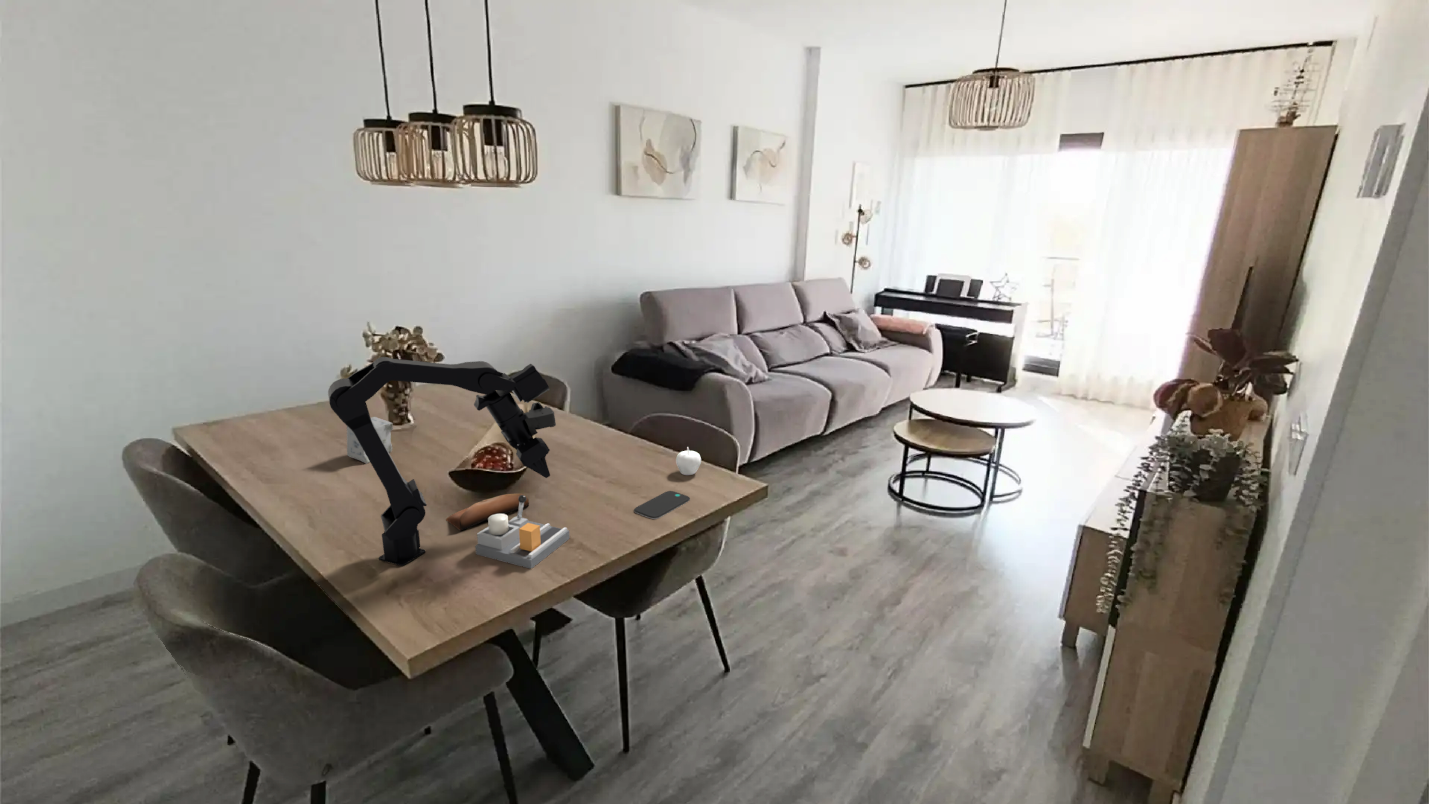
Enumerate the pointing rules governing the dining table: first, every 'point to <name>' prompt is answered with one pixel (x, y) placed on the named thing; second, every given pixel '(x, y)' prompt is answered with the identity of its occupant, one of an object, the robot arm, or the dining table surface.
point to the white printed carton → (354, 446)
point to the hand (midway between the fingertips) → (542, 468)
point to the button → (498, 524)
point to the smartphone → (661, 505)
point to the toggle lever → (521, 505)
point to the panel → (509, 543)
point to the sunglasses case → (485, 510)
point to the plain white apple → (688, 462)
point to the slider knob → (529, 537)
